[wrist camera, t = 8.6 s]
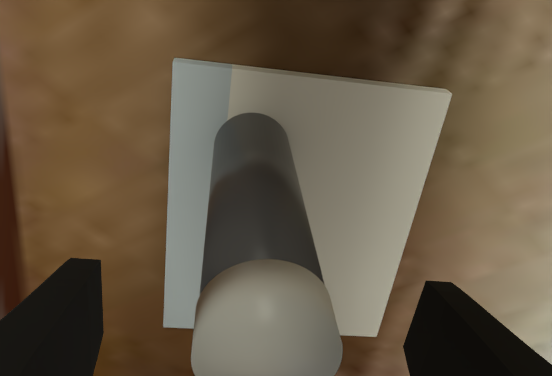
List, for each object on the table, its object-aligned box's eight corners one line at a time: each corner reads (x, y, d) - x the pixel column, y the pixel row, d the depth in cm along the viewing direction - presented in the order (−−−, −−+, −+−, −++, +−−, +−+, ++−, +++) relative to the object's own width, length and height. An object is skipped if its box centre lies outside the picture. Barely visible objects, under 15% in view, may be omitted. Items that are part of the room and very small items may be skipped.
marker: (281, 188, 19) (321, 414, 10) (206, 176, 18) (181, 402, 10) (298, 118, 18) (361, 309, 9) (219, 104, 17) (202, 291, 8)
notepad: (373, 327, 24) (376, 336, 23) (164, 317, 22) (163, 327, 22) (446, 89, 18) (452, 93, 18) (174, 57, 17) (172, 61, 16)
